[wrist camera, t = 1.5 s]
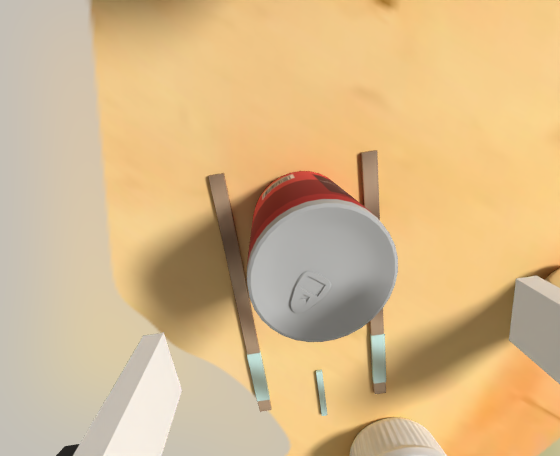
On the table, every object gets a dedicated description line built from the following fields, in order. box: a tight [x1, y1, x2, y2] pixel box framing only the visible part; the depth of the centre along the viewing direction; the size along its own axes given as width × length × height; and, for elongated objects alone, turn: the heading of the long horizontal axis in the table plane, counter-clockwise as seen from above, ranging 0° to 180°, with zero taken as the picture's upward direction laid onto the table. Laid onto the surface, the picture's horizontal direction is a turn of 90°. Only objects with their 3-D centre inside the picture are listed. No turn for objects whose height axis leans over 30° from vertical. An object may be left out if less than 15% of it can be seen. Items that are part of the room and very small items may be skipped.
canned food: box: [247, 171, 398, 342], centre depth 20 cm, size 8×8×11 cm
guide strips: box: [208, 150, 386, 416], centre depth 28 cm, size 27×14×1 cm, turn 8°
